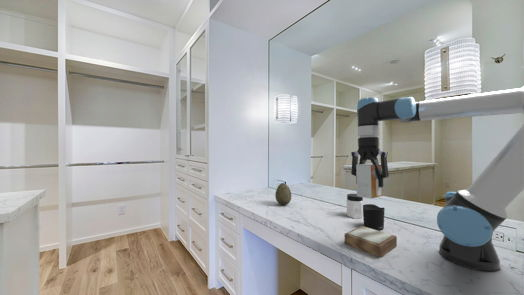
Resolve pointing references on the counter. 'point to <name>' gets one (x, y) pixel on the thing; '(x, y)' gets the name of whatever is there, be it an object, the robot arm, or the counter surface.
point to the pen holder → (373, 216)
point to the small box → (366, 180)
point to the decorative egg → (283, 194)
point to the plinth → (371, 241)
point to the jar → (354, 206)
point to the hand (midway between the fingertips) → (369, 193)
